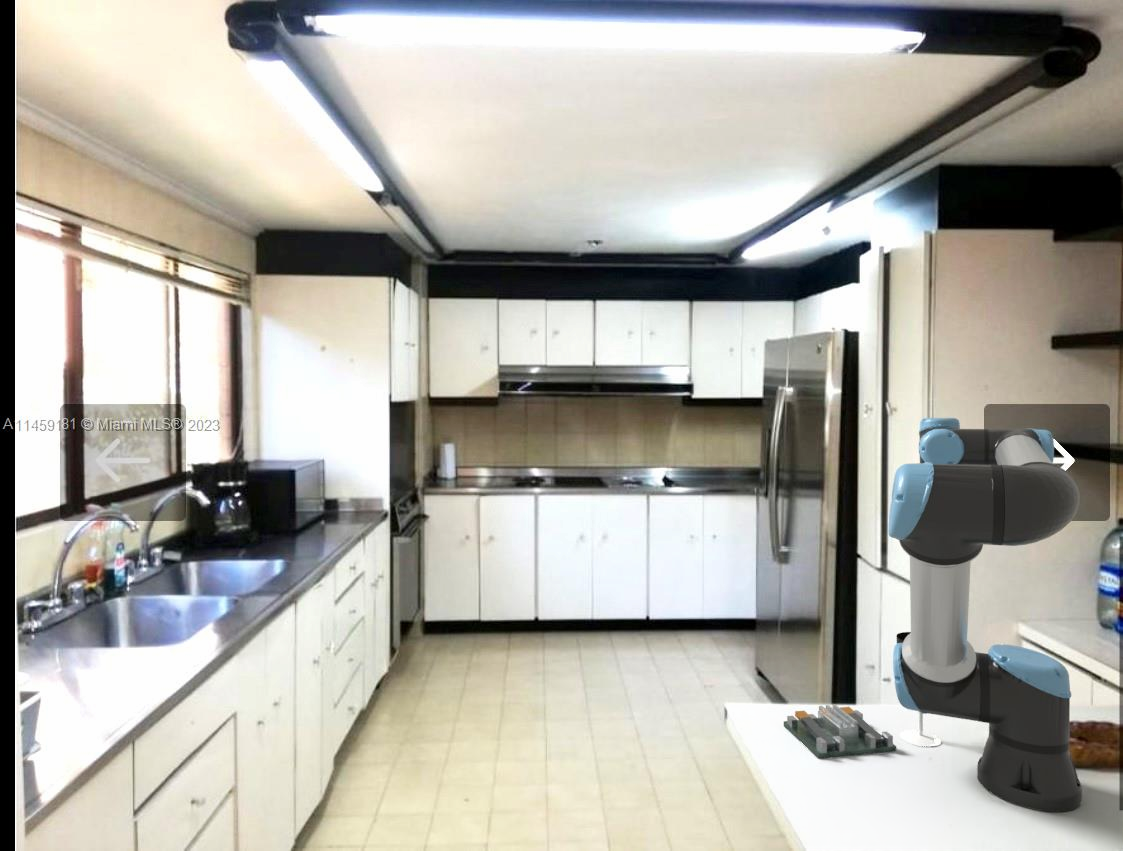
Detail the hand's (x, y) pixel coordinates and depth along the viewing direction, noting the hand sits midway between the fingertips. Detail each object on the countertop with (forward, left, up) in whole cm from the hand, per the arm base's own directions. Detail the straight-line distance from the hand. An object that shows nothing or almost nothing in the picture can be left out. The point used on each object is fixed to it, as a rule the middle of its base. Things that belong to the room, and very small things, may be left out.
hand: (939, 602), depth 151 cm
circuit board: (-5, +26, -24) cm, 36 cm away
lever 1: (-5, +31, -23) cm, 39 cm away
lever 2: (-5, +21, -23) cm, 31 cm away
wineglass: (-8, +10, -25) cm, 28 cm away
